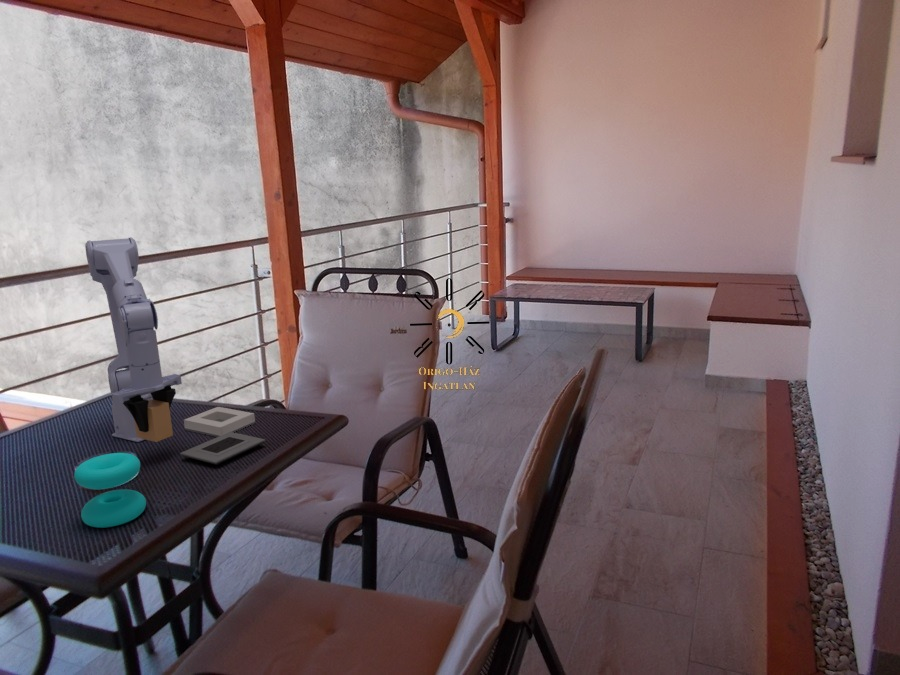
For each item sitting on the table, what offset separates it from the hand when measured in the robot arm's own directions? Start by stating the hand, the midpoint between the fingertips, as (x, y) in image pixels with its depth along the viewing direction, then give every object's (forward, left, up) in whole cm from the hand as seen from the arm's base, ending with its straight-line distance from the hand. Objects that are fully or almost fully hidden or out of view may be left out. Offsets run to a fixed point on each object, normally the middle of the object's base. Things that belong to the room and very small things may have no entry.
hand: (153, 427), depth 140 cm
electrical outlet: (+11, +8, -8) cm, 15 cm away
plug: (0, 0, -2) cm, 2 cm away
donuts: (+15, -20, -7) cm, 26 cm away
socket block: (-3, +19, -7) cm, 20 cm away
